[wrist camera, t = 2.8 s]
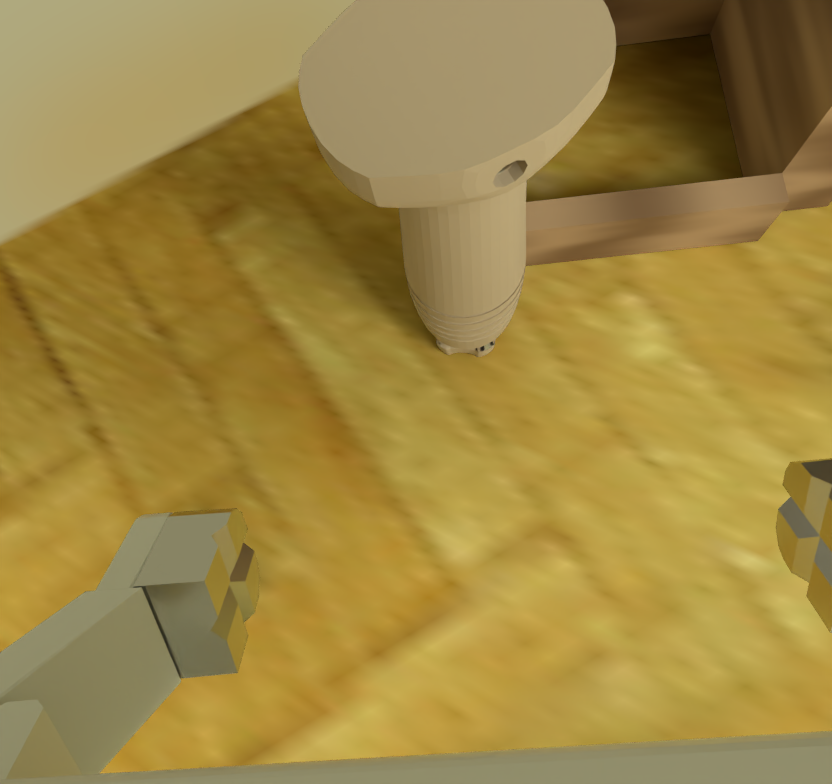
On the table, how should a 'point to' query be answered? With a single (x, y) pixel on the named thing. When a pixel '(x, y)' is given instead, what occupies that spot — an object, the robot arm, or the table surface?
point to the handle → (456, 134)
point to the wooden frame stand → (751, 124)
